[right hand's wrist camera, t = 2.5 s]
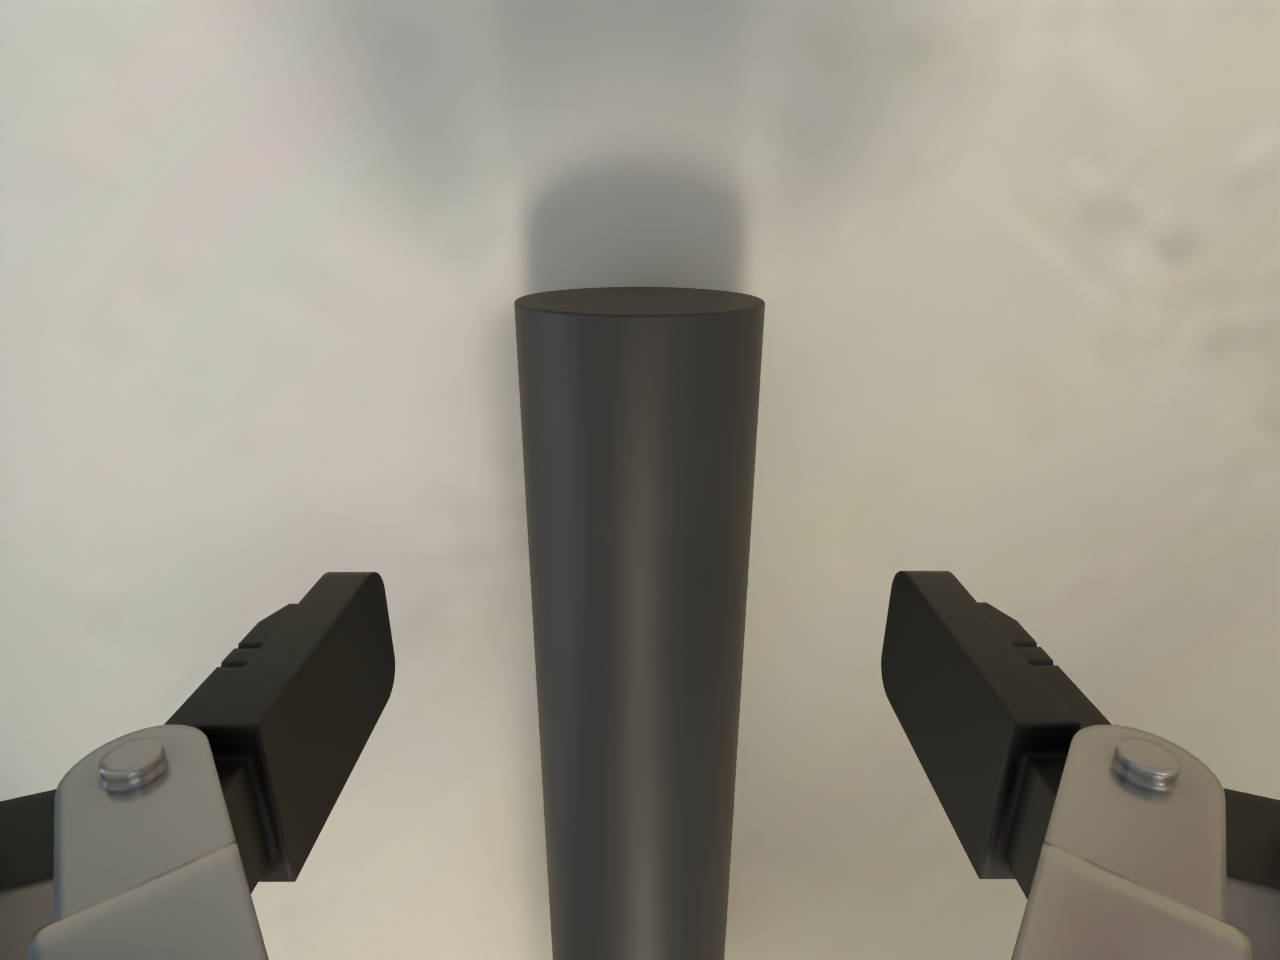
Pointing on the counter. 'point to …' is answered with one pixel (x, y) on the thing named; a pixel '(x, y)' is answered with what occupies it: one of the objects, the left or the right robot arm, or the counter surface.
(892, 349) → the counter surface
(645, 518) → the rod
